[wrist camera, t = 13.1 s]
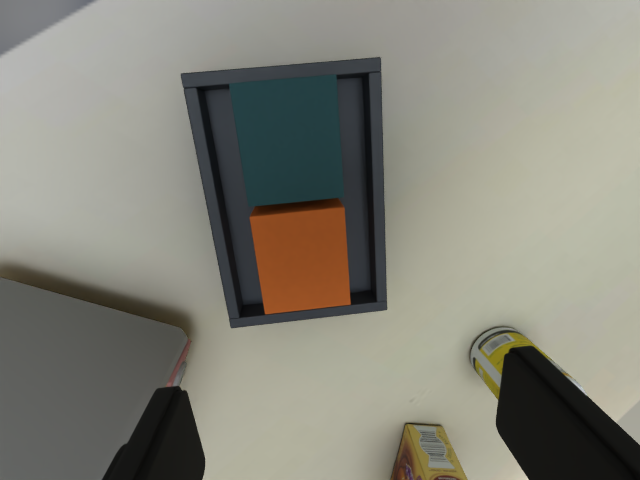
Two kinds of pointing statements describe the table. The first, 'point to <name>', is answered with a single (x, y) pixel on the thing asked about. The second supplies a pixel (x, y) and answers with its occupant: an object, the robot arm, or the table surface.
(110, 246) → the table surface
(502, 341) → the supplement bottle
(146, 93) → the table surface
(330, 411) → the table surface
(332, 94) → the dark teal block
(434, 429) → the candy box
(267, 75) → the tray
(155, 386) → the yellow toy microwave
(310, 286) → the orange block
